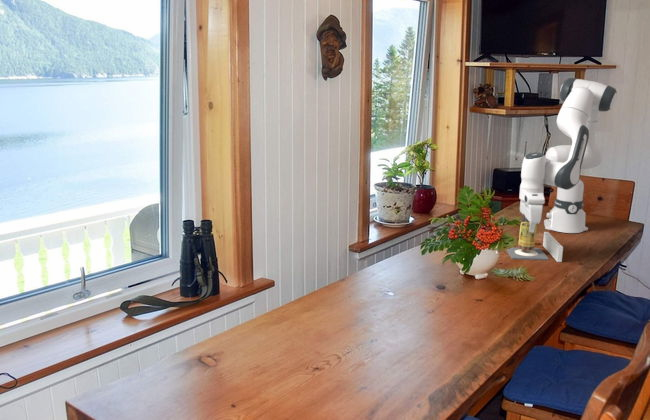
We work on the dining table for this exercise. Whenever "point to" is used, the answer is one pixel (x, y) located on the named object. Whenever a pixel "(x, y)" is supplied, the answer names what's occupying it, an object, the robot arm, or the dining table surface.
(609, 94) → the robot arm
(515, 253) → the mat
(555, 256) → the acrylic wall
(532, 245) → the sauce bottle
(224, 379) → the dining table surface
